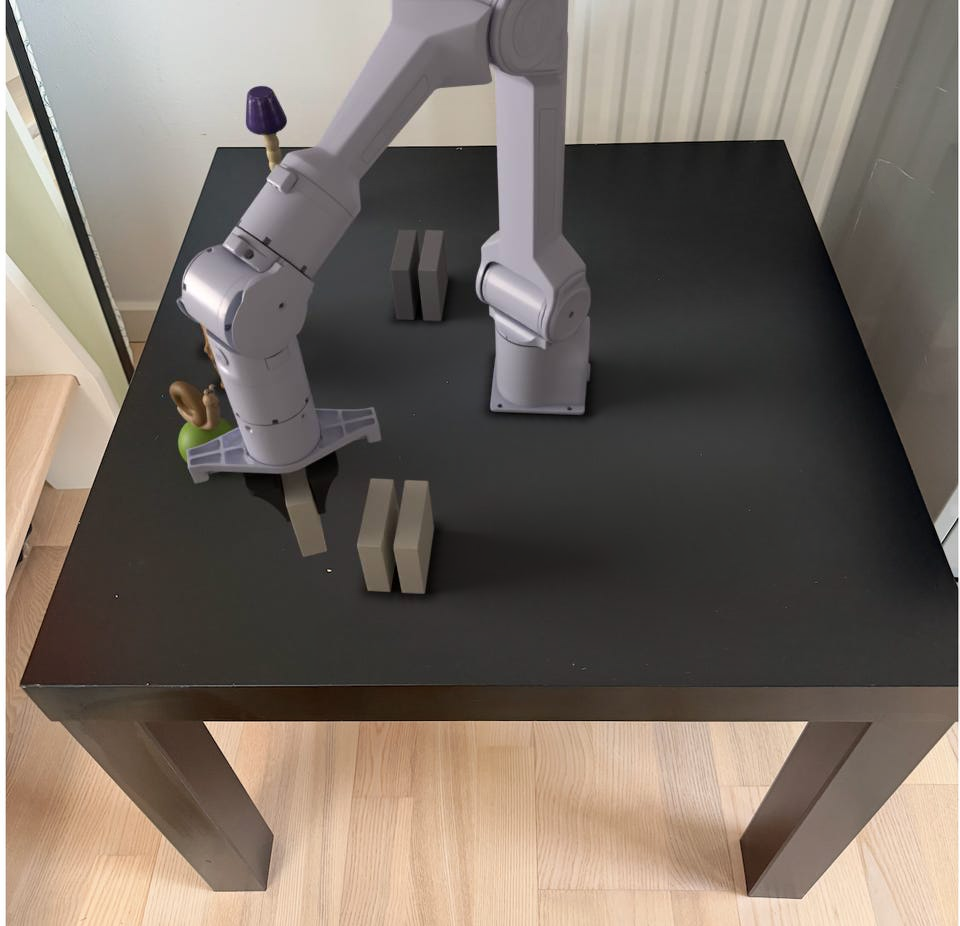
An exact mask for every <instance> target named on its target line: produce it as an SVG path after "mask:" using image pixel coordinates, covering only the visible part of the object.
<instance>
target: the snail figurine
mask: <svg viewBox="0 0 960 926" xmlns="http://www.w3.org/2000/svg"><path fill="white" fill-rule="evenodd" d="M215 390H216V385H215V384H210V385H209V386H208V388H206V389H204V391H203V393H201V392H200V391H199V390H198V389H197V388H196V387H195V386H193V385H192V384H190V383H188V382H187V381H182V380H176V381H174V382H173V383H171V385H170V387H169V395H170V397H171V399H172V400H173V402H174V403H175V405H176V406H177V407H176V408H177V411H178V413H179V414H180V415H181V417H182V418H183V419H184V420H185V421H186V423H184V424H183V427H181V429H180V430H179V434H178V439H177V446H178V450H179V453H180V456H181V457H182V459H183V461H184V462H185V463H187V464H188V462H187V451H186V450H187V449H189V448H193V447H197V446H200V445H202V444H205V443H207V442H209V441H212V440H214V439H216V438H218V437H220V436H222V435H224V434H226V433H227V432H229V431H231V430H233V429H234V427H233V425H231V423H230V422H229V421H228V420H226V419H225V418H224V417H221V410H220V405H219V403H220V400H219V397H218V396H217V395H216V392H215ZM211 391H213V392H211ZM203 394H204V395H203Z"/></svg>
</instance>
